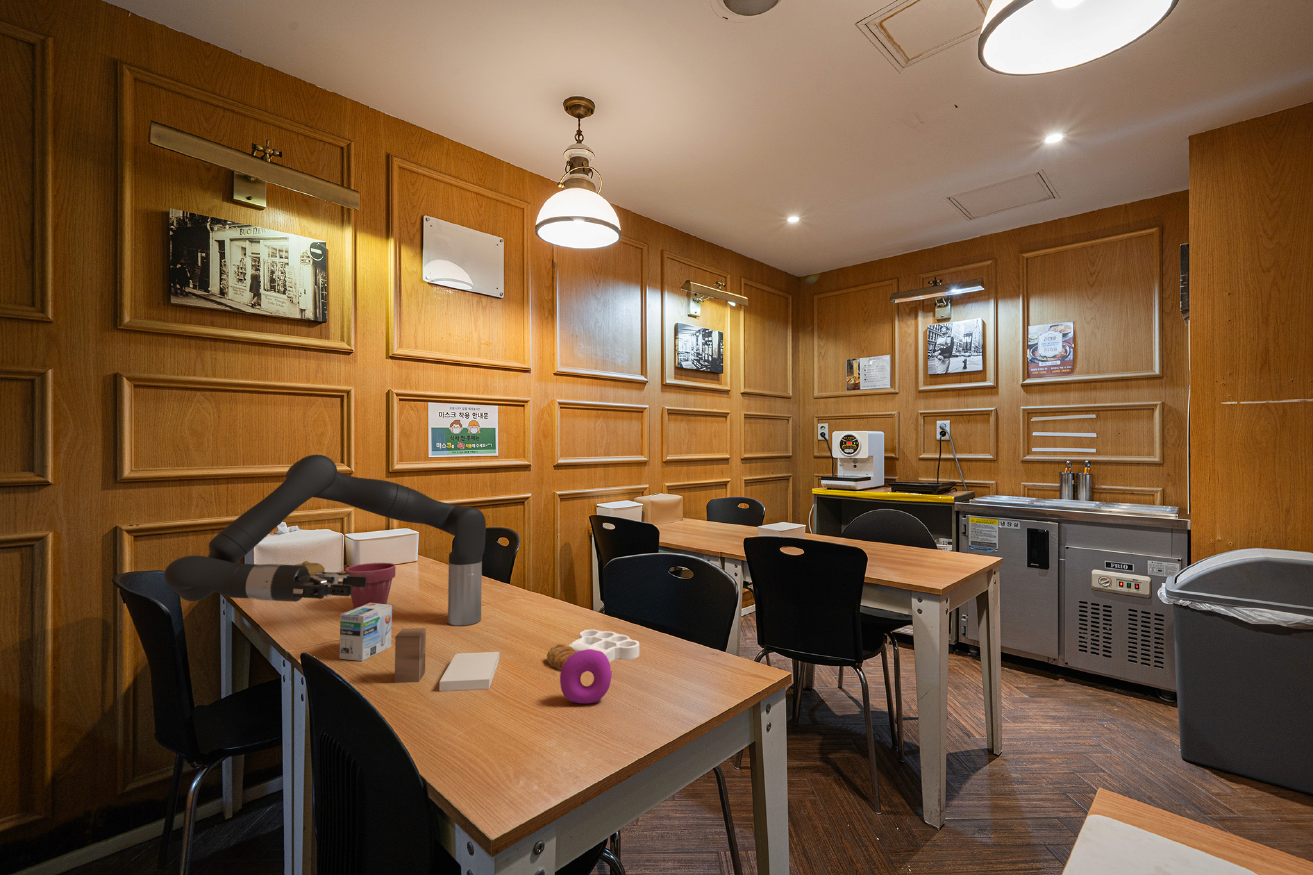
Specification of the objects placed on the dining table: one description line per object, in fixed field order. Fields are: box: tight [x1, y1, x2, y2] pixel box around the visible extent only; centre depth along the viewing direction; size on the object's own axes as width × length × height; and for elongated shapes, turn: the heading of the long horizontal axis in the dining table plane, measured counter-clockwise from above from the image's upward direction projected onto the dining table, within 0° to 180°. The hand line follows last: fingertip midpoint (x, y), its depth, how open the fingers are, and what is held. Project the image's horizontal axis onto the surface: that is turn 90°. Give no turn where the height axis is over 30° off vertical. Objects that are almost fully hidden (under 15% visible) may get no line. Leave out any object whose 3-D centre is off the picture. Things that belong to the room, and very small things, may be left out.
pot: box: [295, 560, 326, 576], centre depth 197 cm, size 12×12×10 cm
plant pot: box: [344, 562, 396, 609], centre depth 177 cm, size 14×14×13 cm
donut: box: [559, 649, 613, 704], centre depth 113 cm, size 8×9×10 cm
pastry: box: [546, 643, 576, 671], centre depth 132 cm, size 9×7×4 cm
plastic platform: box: [439, 651, 500, 692], centre depth 125 cm, size 16×10×2 cm, turn 8°
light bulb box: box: [339, 603, 393, 662], centre depth 138 cm, size 11×7×11 cm, turn 168°
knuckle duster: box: [568, 629, 640, 663], centre depth 141 cm, size 3×18×15 cm
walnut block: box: [394, 627, 427, 684], centre depth 124 cm, size 5×5×10 cm
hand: (359, 586), depth 122 cm, fingers open, 8 cm apart
